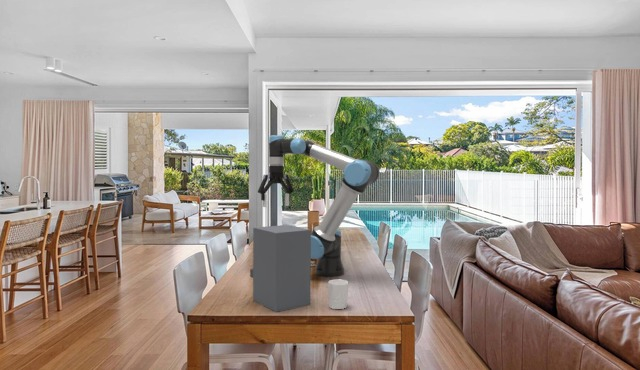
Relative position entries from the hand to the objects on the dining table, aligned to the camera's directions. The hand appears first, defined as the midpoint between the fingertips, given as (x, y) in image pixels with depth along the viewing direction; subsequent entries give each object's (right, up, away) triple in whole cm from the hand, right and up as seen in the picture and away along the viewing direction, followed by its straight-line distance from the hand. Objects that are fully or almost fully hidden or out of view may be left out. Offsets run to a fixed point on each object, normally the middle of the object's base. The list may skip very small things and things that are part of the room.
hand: (276, 206), depth 221 cm
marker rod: (-3, -35, -15) cm, 39 cm away
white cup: (+30, -37, -53) cm, 72 cm away
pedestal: (+7, -37, -48) cm, 61 cm away
